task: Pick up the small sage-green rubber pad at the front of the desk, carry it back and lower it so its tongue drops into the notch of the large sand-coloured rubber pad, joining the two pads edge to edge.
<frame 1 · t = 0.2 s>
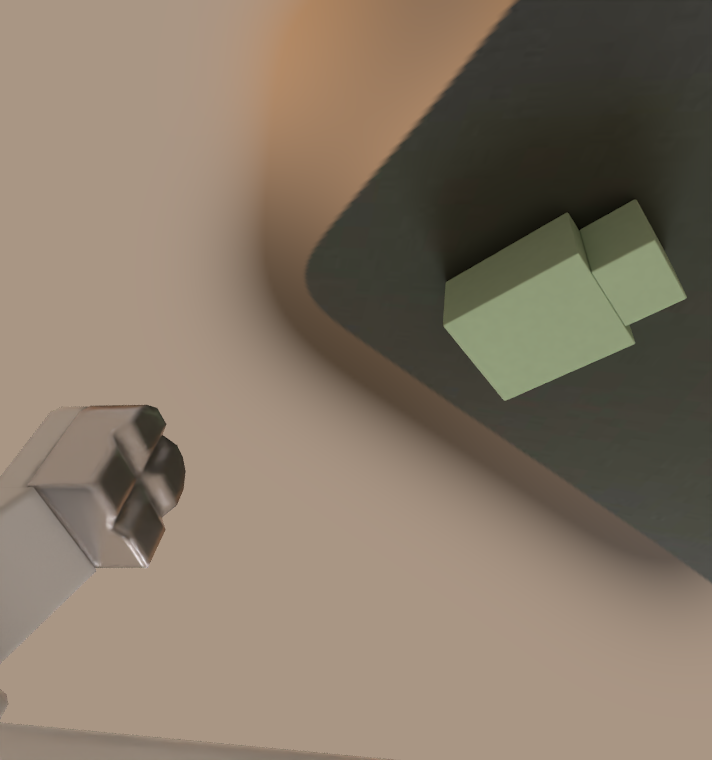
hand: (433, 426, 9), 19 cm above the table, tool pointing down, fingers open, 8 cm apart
sage pad: (531, 289, 28), on the table
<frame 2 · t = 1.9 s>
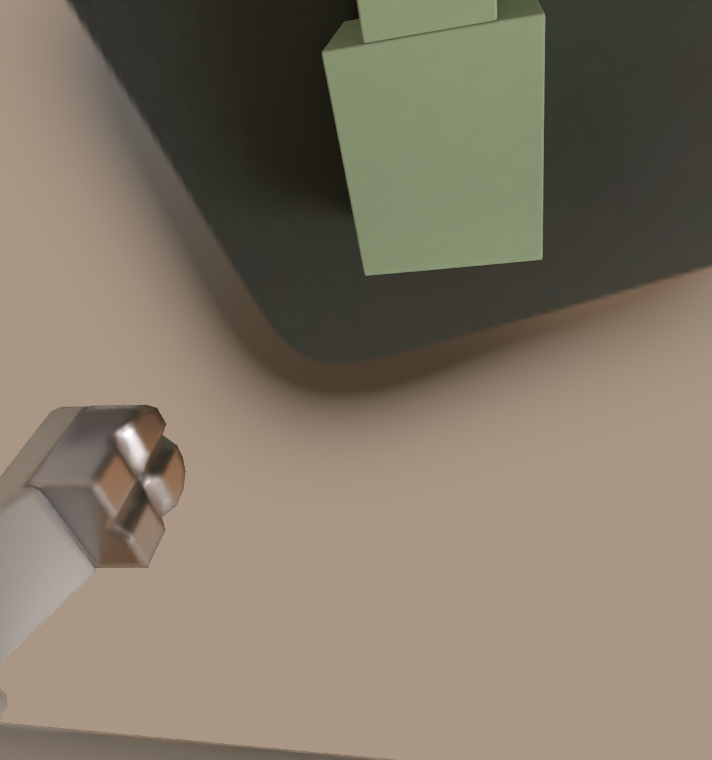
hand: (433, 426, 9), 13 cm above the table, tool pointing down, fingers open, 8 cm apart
sage pad: (444, 120, 18), on the table
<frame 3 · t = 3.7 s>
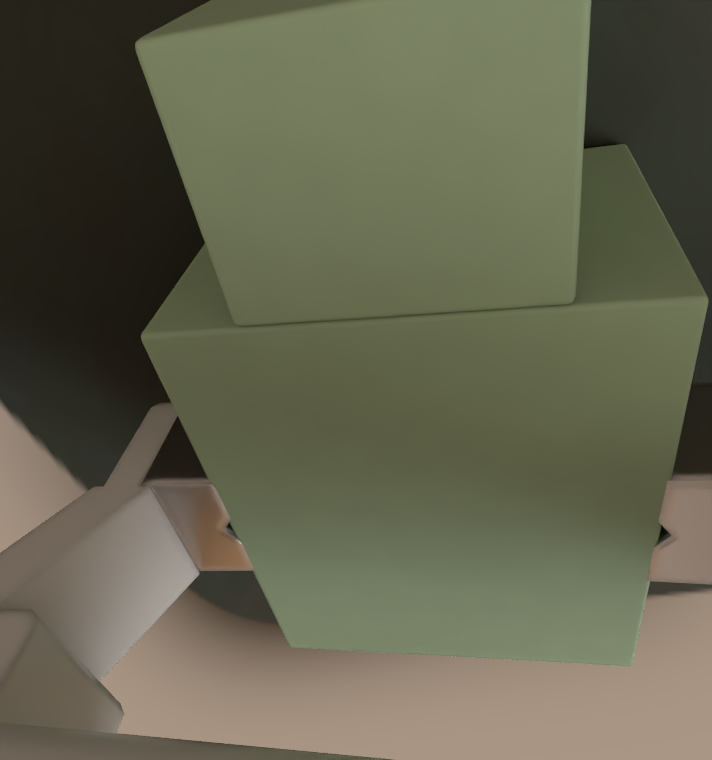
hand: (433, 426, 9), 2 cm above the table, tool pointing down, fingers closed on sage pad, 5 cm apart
sage pad: (441, 351, 10), on the table, touching gripper
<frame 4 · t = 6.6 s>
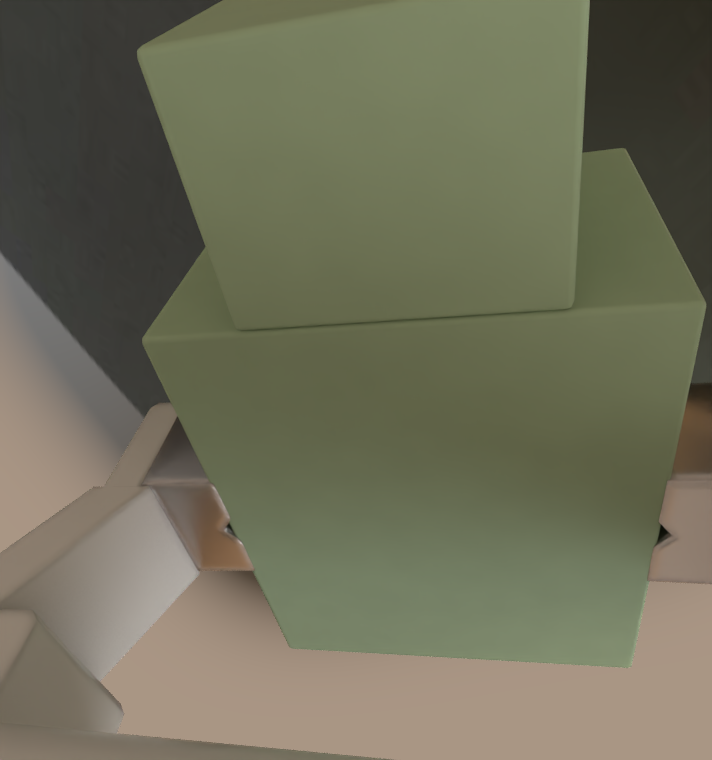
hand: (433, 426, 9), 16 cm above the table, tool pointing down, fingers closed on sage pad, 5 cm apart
sage pad: (441, 353, 10), point 14 cm above the table, touching gripper
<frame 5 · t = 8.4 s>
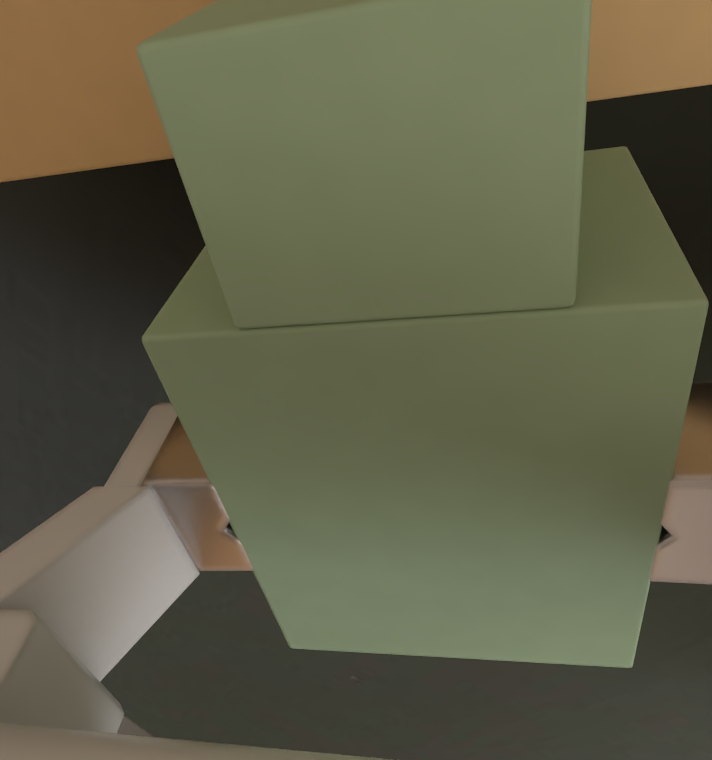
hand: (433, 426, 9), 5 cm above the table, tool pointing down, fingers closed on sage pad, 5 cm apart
sage pad: (441, 352, 10), point 3 cm above the table, touching gripper
when the fingers open (2 cm above the table, at t = 9.7 s): sage pad stays where it is, on the table.
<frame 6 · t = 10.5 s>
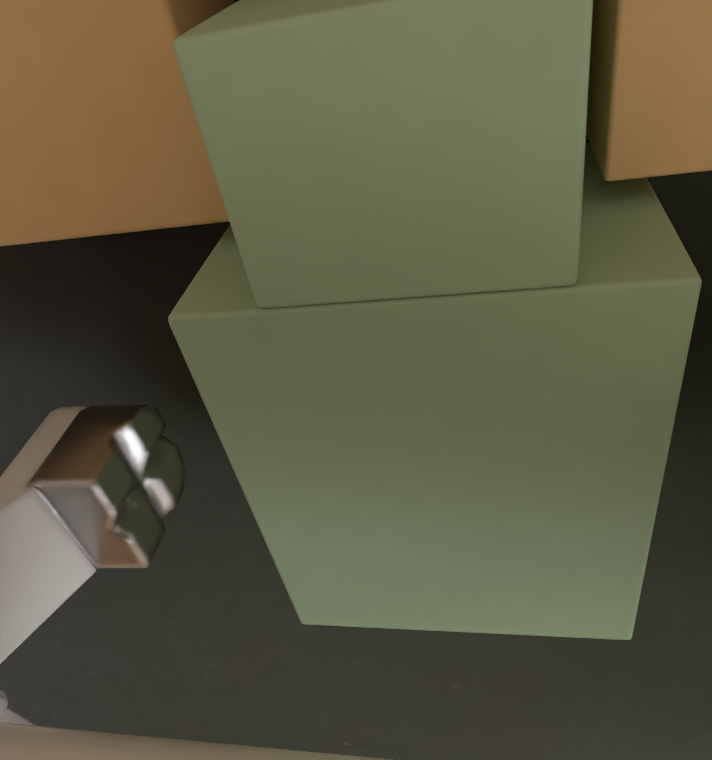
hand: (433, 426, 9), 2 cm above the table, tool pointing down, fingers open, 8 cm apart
sage pad: (447, 339, 10), on the table
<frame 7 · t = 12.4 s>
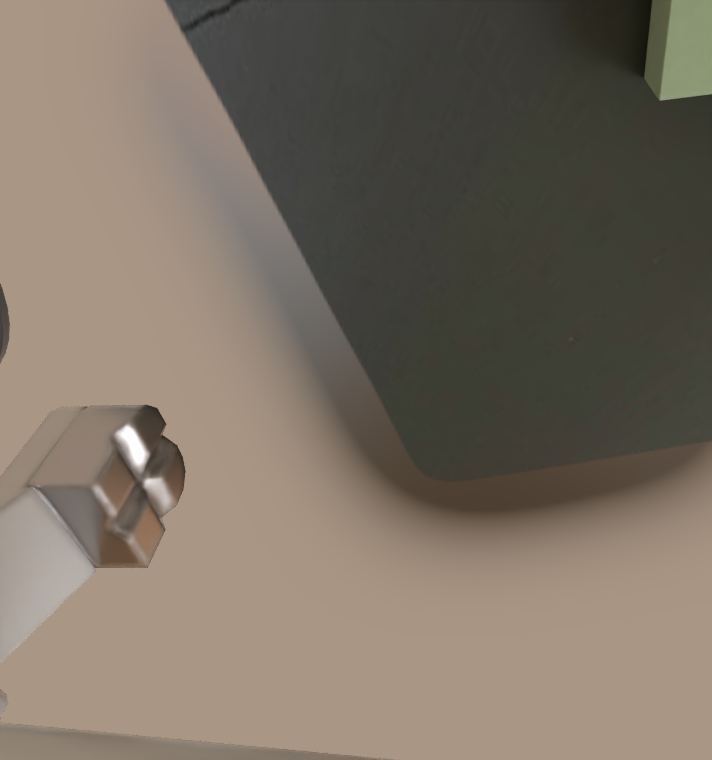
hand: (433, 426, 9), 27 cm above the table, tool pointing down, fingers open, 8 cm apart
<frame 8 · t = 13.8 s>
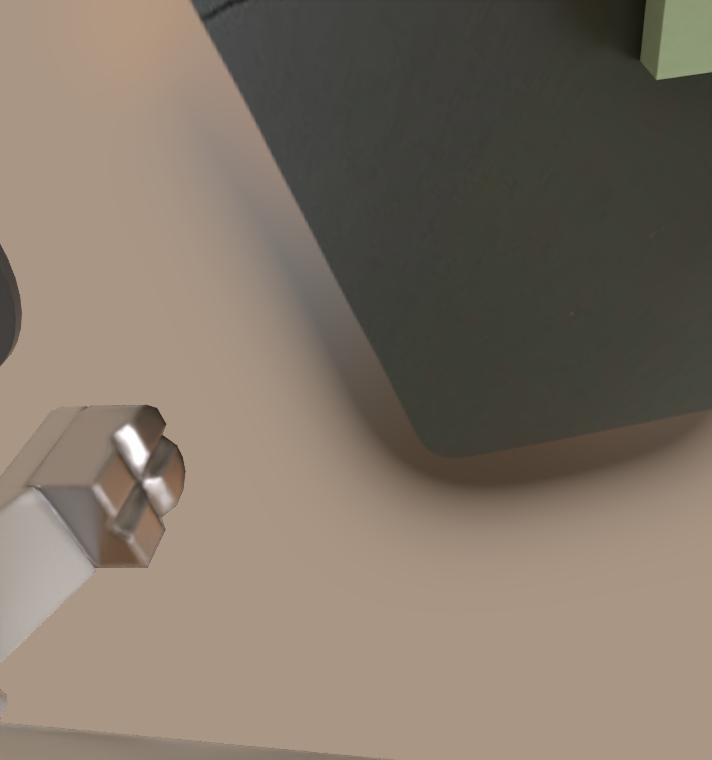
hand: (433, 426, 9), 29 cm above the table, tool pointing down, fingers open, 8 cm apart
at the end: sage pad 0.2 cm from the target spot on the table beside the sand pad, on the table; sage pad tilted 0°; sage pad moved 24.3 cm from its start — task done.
